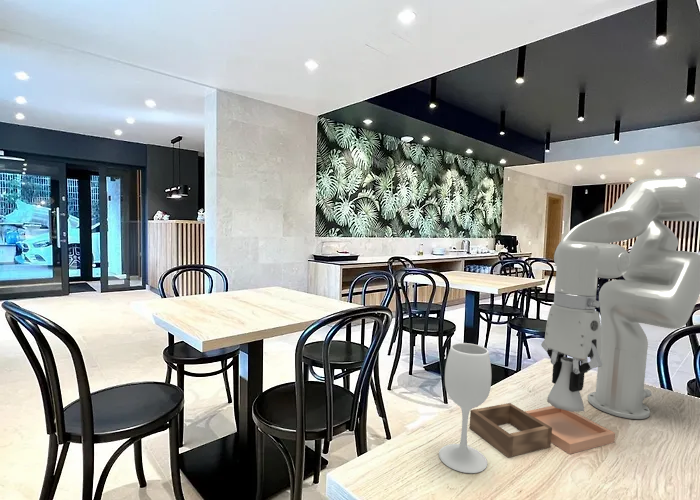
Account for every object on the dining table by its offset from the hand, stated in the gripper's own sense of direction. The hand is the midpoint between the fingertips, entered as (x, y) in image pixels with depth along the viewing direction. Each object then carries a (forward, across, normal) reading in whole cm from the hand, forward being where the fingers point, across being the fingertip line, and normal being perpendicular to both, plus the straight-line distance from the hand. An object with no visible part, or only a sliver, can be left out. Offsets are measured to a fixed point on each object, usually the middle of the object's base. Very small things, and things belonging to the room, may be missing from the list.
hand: (566, 385), depth 82 cm
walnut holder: (+10, +2, +13) cm, 17 cm away
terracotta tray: (+10, 0, 0) cm, 10 cm away
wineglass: (+11, -1, +27) cm, 29 cm away
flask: (+4, 0, 0) cm, 4 cm away
